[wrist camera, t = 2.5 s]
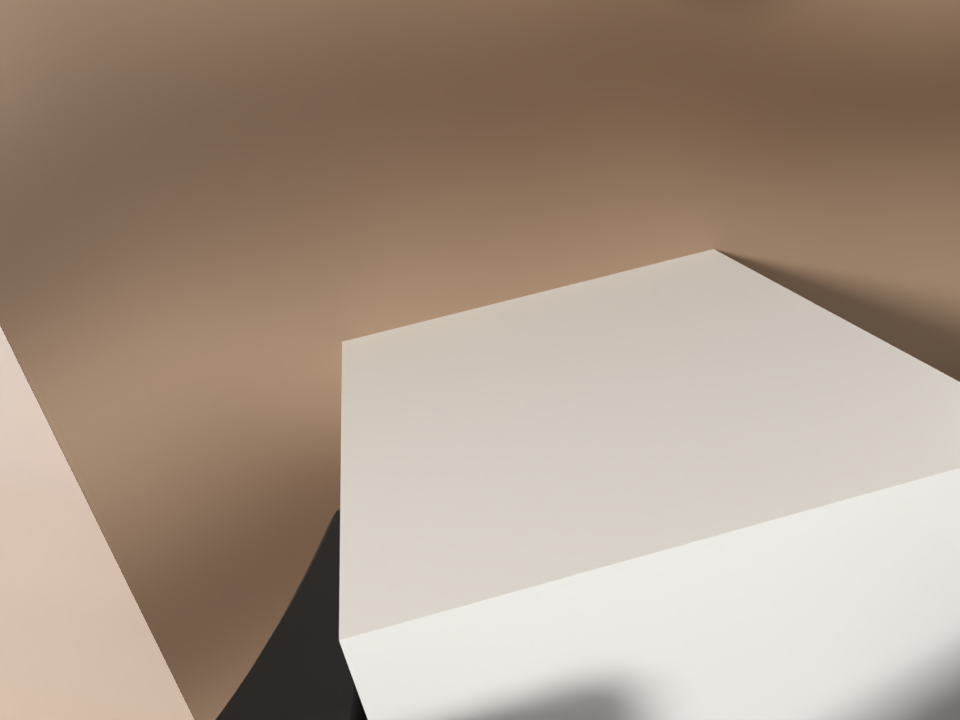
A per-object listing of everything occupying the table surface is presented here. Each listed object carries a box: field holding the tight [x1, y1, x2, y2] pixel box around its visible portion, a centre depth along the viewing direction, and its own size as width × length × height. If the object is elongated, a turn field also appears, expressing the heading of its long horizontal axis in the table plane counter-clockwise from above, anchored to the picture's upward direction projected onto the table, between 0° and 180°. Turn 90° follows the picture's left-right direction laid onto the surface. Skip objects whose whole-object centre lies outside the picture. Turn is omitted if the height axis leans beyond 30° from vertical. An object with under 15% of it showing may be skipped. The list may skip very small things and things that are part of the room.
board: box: [0, 0, 960, 720], centre depth 11 cm, size 20×14×2 cm
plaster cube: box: [339, 249, 960, 720], centre depth 9 cm, size 6×6×6 cm
